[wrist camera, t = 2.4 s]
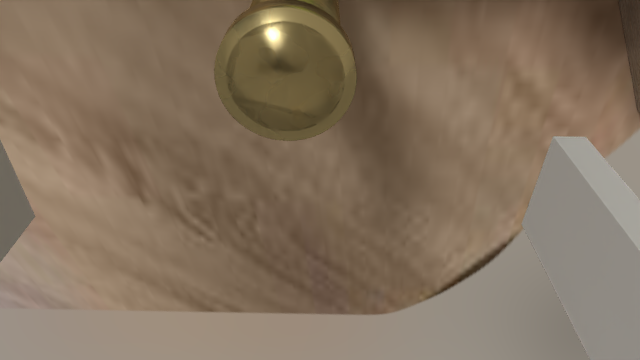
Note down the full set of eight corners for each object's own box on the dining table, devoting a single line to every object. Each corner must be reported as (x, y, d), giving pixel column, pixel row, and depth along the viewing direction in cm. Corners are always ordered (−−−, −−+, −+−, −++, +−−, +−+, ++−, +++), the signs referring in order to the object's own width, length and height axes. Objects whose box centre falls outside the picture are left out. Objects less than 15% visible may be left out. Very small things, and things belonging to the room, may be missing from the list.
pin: (265, 8, 30) (222, 139, 17) (261, -76, 27) (205, 7, 14) (340, 9, 30) (352, 141, 17) (343, -75, 27) (361, 9, 14)
